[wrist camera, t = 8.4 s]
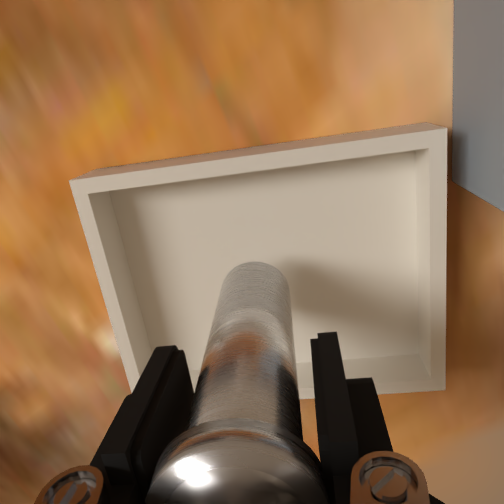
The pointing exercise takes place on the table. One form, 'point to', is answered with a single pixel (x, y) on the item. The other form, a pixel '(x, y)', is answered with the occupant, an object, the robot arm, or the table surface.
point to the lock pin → (244, 407)
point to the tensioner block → (479, 99)
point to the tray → (283, 248)
